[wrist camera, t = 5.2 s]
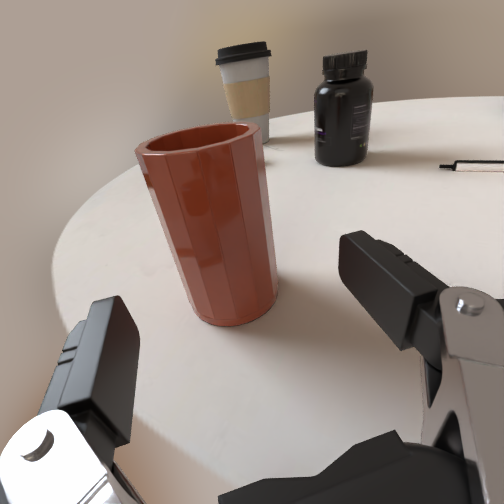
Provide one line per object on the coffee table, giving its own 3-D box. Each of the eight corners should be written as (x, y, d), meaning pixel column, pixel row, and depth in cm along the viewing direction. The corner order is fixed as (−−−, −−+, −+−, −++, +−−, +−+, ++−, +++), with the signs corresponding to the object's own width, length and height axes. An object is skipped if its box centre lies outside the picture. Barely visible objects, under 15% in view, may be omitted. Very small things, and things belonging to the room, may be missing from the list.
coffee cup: (268, 133, 58) (259, 44, 50) (286, 141, 51) (279, 38, 42) (224, 142, 57) (208, 52, 48) (236, 152, 49) (219, 47, 41)
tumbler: (218, 344, 15) (159, 163, 10) (178, 290, 20) (122, 143, 14) (297, 294, 18) (286, 126, 12) (246, 256, 22) (221, 119, 17)
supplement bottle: (304, 163, 39) (301, 59, 32) (333, 149, 42) (335, 53, 36) (348, 170, 34) (355, 51, 28) (377, 154, 38) (389, 45, 31)
